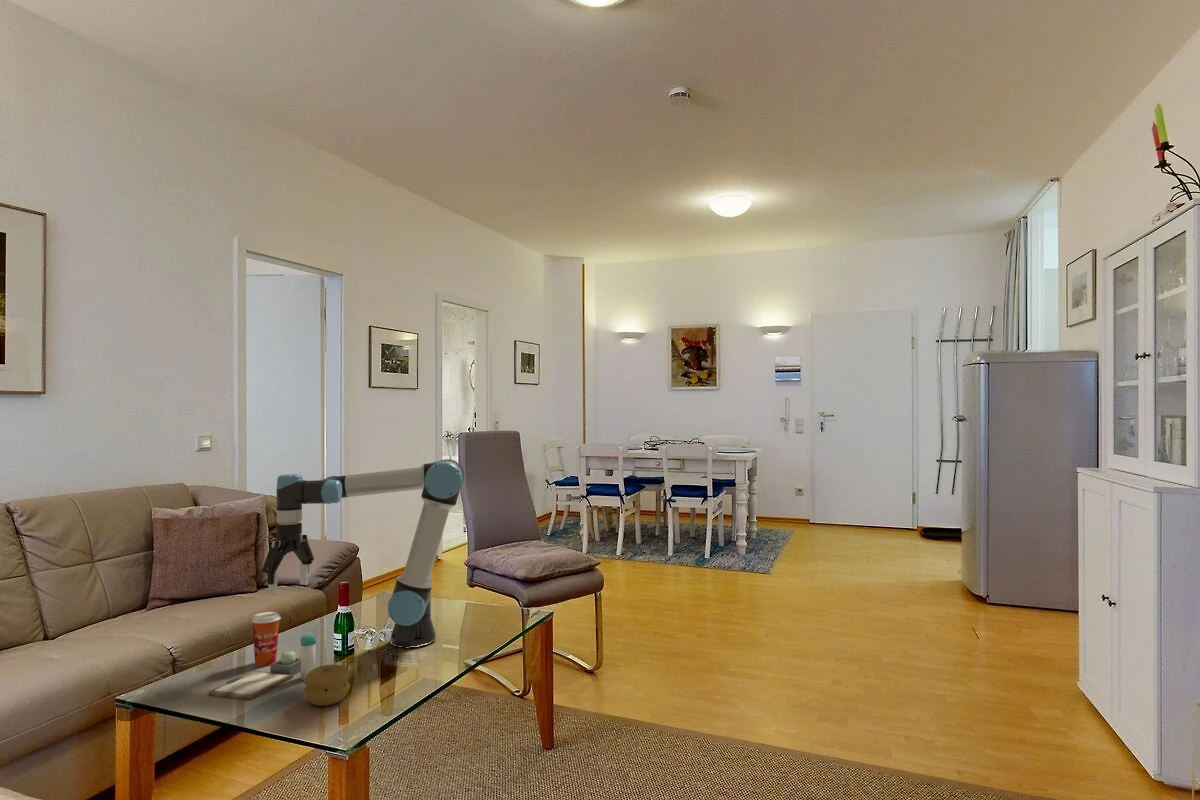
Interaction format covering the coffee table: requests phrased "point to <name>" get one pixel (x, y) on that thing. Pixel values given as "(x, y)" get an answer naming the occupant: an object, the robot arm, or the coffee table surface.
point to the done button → (288, 657)
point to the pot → (326, 685)
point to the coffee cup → (265, 637)
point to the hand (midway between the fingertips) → (288, 589)
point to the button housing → (286, 667)
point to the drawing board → (250, 685)
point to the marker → (307, 654)
